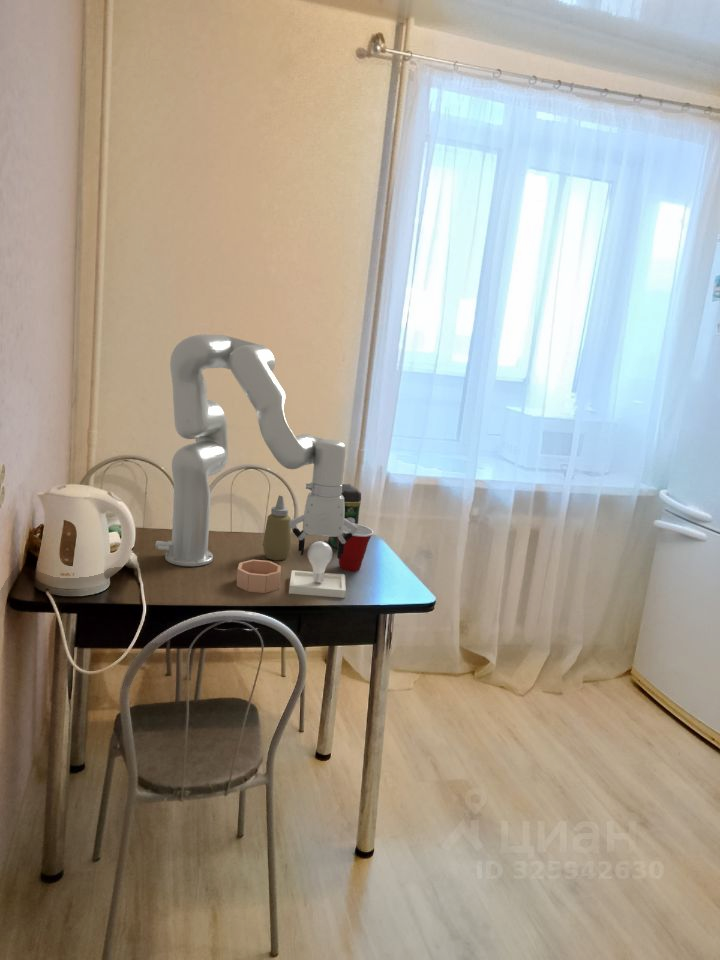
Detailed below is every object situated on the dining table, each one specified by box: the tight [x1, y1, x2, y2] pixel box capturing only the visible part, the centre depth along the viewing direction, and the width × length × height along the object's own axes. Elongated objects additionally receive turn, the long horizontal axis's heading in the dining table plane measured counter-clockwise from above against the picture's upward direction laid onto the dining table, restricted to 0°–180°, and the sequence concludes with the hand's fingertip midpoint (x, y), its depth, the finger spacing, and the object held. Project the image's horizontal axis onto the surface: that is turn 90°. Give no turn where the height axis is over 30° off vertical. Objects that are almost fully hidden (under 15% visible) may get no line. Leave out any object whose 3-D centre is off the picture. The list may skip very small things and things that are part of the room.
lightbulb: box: [307, 540, 333, 583], centre depth 184 cm, size 6×6×11 cm
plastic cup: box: [337, 523, 374, 573], centre depth 200 cm, size 11×11×12 cm
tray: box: [288, 569, 347, 599], centre depth 185 cm, size 14×11×2 cm
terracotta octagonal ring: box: [236, 559, 282, 594], centre depth 183 cm, size 11×11×4 cm
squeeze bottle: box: [262, 494, 292, 561], centre depth 202 cm, size 8×8×18 cm
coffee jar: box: [328, 483, 362, 549], centre depth 219 cm, size 10×8×19 cm
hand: (320, 555), depth 184 cm, fingers open, 9 cm apart
